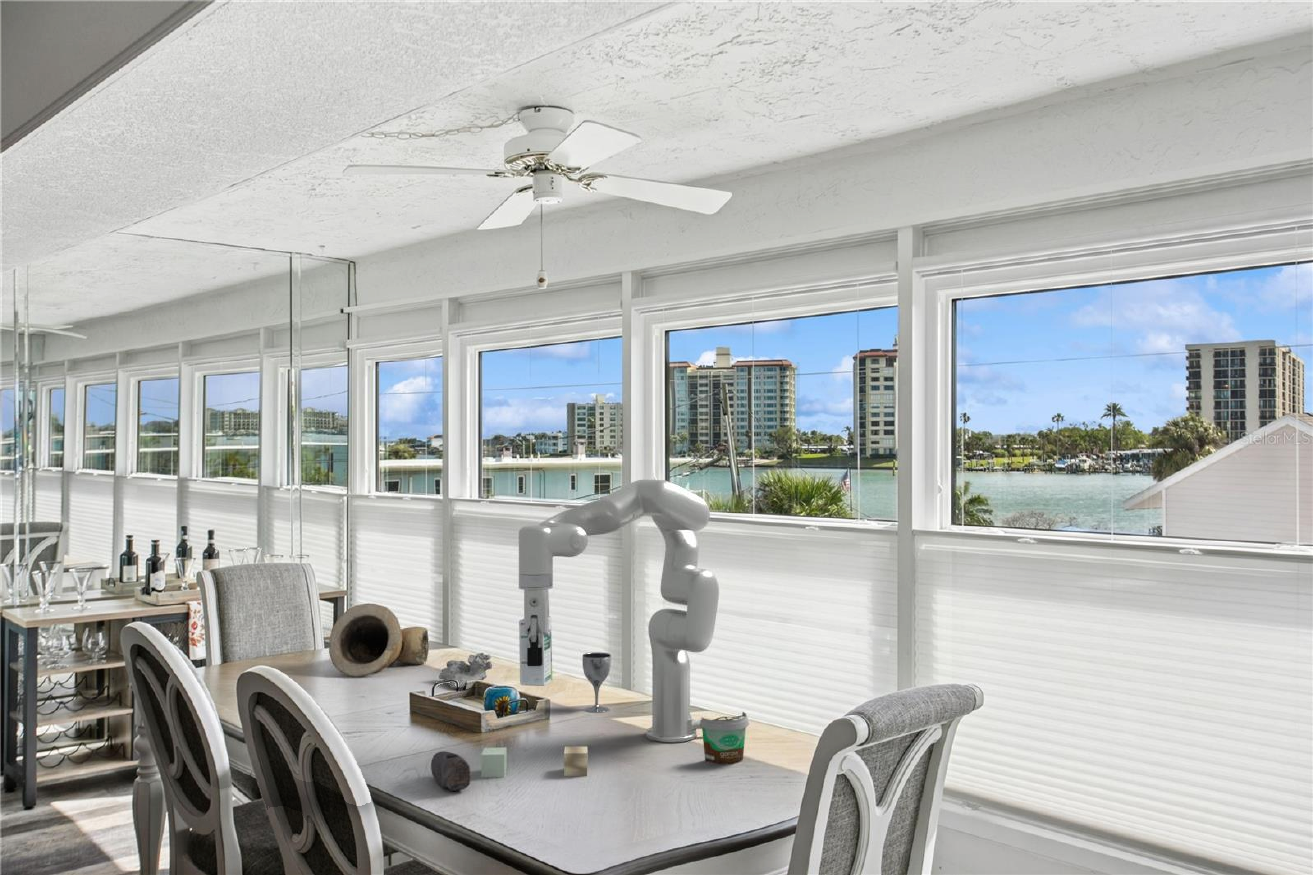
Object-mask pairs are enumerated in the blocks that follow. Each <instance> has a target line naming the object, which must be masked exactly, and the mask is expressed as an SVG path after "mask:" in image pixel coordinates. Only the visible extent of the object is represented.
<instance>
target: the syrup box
mask: <svg viewBox="0 0 1313 875" xmlns="http://www.w3.org/2000/svg"><path fill="white" fill-rule="evenodd" d="M548 619H549V631H548V633H547V634H546V635H544V633H541V647H542V665H541V666H528V665H527V647H528V635H527V634H526V633H525V621H524V618H522V619H520V620H519V621H518V629H519V631H518V632H519V634H518V638H519V640H518V641H519V685H520V686H531V687H545V686H546V685H547V684H548V683H549V682H551V681H553V659H552V658H553V656H552V655H553V653H552V652H553V647H552V646H553V644H552V642H553V641H552V617H551V616H550V615H549V617H548ZM537 623H538V617H537ZM536 633H539V630H537V632H536Z"/></svg>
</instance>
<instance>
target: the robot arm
mask: <svg viewBox="0 0 1313 875" xmlns="http://www.w3.org/2000/svg"><path fill="white" fill-rule="evenodd" d="M647 515H650V517H651V519H652V521H653V522H654V524H655V526H656V527H657V528H658V529H659V531H660V533H661V535H662V536H663V539H664V544H665V549H664V558H663V566H662V573H661V579H660V590H659V591H660V595H661V597H662V599H664V600H665V602H669V603H671V604H675V605H680V606H686V610H683V609H676V608H663V609H659V610H657V611H656V612H654V613H653V614H652V615H651V617H650V619H649V621H648V626H647V627H648V628H647V630H648V638H649V643H650V644H649V645H650V647H651V648H650V649H651V658H652V659H651V660H652V666H651V667H652V676H651V677H652V678H651V679H652V680H651V681H652V686H651V688H652V690H651V691H652V694H651V695H652V697H651V698H652V699H651V700H652V701H651V702H652V703H651V704H652V710H651V711H652V714H651V715H652V716H651V717H652V720H651V721H652V726H651V727H649V728H647V729H646V732H645V736H646V737H647V738H648V739H649V740H652V741H656V742H661V743H684V742H687V741H690V740H693V739H695V738H696V737H697V730H702V727H699V726H700V721H701V719H694V718H692V715H691V664H690V658H689V655H688V652H689V653H702V652H704V651H705V650H706V649H708V648H709V647H710V645H711V643H712V640H713V637H714V633H715V626H716V619H717V612H718V606H719V605H718V604H719V596H720V588H719V582H718V580H717V577H716V576H715V574H714V573H713V572H711V571H710V570H707V569H705V568H698V563H699V562H698V561H699V552H700V551H699V548H700V547H699V542H698V538H697V537H696V534H695V532H697V531H701V530H702V529H704V528H706V527H707V525H708V524H709V521H710V518H711V512H710V508H709V505H708V503H707V502H706V501H705V500H704V499H703V498H702V497H700V496H698V495H697V494H694V492H693V493H692V492H690V491H688V490H687V489H685V488H683V487H681V486H679V485H677V484H675V483H674V482H671V481H669V480H665V479H637V480H635V481H633V482H630V483H628V484H626V485H624V486H623V487H621V488H619V489H617V490H616V491H613V492H611V493H610V494H608V495H606V496H604V497H602V498H600V499H597V500H593V501H590V502H587V503H584V504H582V505H579V506H575V507H572V508H569V509H567V510H564V511H561V512H559V513H557V514H555V515H553V516H551V517H549V518H547V519H545V520H544V521H542V522H541V523H539V524H537V525H526V526H522V527H520V529H519V531H518V589H519V590H523V599H524V600H523V613H524V614H523V616H524V618H523V619H524V621H525V633H526V634H527V635H528V647H527V665H528V666H541V665H542V647H541V633H544V635H546V634H547V633H548V631H549V619H548V617H549V616H550V597H549V594H550V593H549V590H550V589H553V588H554V583H553V582H554V581H553V580H554V578H553V577H554V576H553V575H554V574H553V572H554V570H553V567H554V563H553V562H554V561H553V560H554V557H564V558H565V557H566V558H573V557H577V556H579V555H580V554H582V553H584V552H585V550H586V549H587V546H588V542H589V539H588V537H589V536H599V535H606V534H609V533H615V532H618V531H619V530H621V529H623V528H625V527H626V526H628V525H629V524H631V523H633V522H635V521H637V520H638V519H641V518H642V517H644V516H647ZM537 617H538V623H537ZM537 630H539V633H536V632H537Z"/></svg>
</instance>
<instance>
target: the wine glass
mask: <svg viewBox="0 0 1313 875" xmlns="http://www.w3.org/2000/svg"><path fill="white" fill-rule="evenodd" d="M611 665H612V654H611V653H608V652H602V651H601V652H599V651H597V652H596V651H593V652H587V653H584V654H582V670H583V674H584V676H585V678H586V679H587V681H589V683H590V684H591V685H592V687H593V690H594V699H595V700H594V702H595V703H594V705H591V706H587V707H584V708H583V710H584V712H587V713H595V714H599V713H600V714H601V713H606V712H608V711H610V708H609V707H608V706H605V705H603V706H602V705H600V704H599V692H600V688H601V686H602V685H603V683H604V682H605V681H606V679H607V678H608V676H609V674H610V671H611V667H612V666H611Z"/></svg>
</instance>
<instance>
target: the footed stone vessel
mask: <svg viewBox="0 0 1313 875" xmlns="http://www.w3.org/2000/svg"><path fill="white" fill-rule="evenodd" d="M328 643H329V648H328V650H329V652H328V653H329V658H330V660H331V664H332V665H333V666H334V667H335V668H336V670H338V671H339V672H340V673H342V674H343V675H346V676H348V677H357V676H358V677H363V676H368V675H371V674H374V673H376V672H380V671H381V670H384V669H385V668H387V667H389V666H390V665H391V664H392V663H393V662H399V663H400V664H401V663H402V664H408V663H410V664H411V665H421V664H420V663H423V664H425V663H426V662H427V659H428V657H429V656H428V655H429V651H430V650H429V632H428V628H426V627H423V626H409V627H405V628H402V629H401V624H400V623H399V618H398V617H397V616H396V615H395V613H394V612H393V611H391V609H390V608H388V607H387V606H384V605H381V604H377V603H363V604H362V603H361V604H357V605H354V606H351V607H350V608H349V609H347V610H346V611H345V612H344V613H342V615H341V616H340V617H338V618H337V620H336V621H335V622H334V624H333V626H332V629H331V632H330V635H329V642H328ZM424 662H425V663H424Z"/></svg>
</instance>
